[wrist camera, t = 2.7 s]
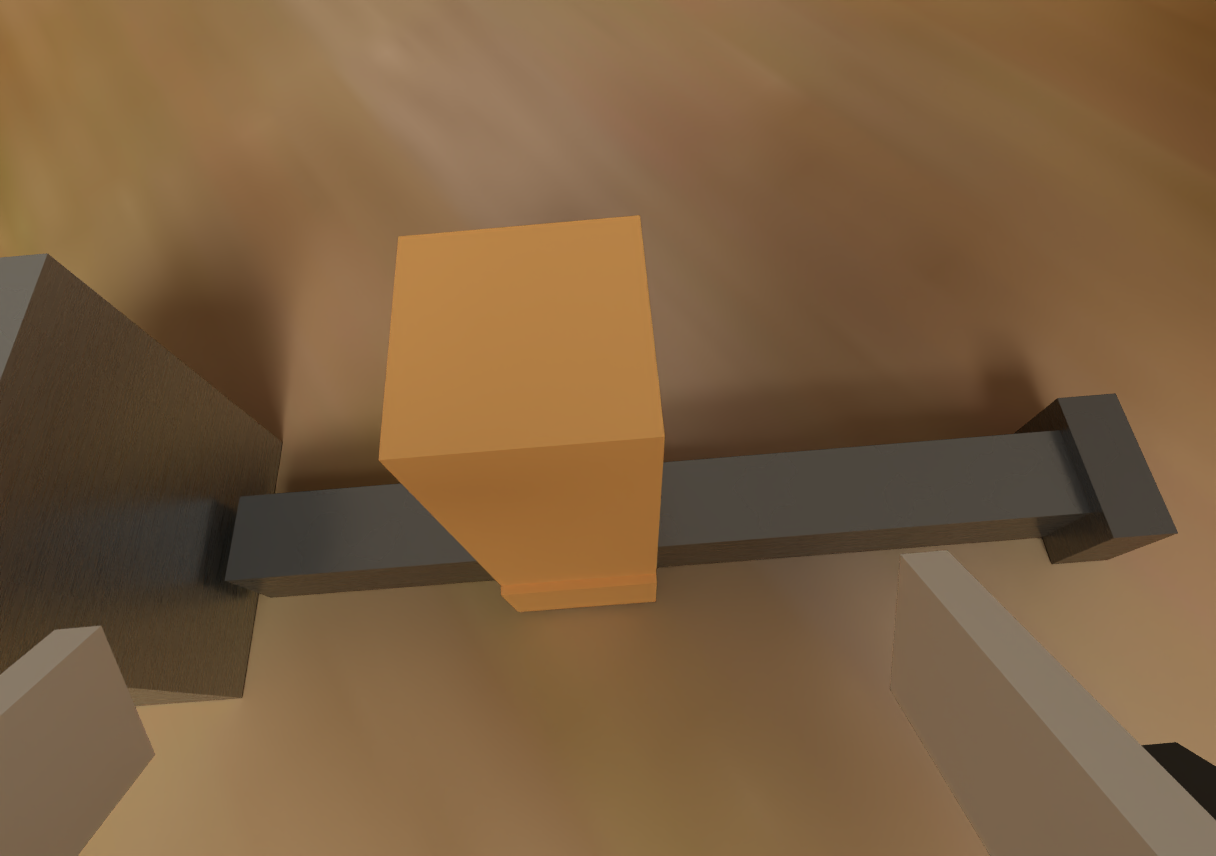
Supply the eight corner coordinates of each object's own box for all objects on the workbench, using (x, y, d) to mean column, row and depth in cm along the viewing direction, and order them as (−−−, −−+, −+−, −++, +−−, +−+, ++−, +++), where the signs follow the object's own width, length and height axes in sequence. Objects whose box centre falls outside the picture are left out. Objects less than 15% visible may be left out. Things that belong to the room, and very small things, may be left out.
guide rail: (1058, 435, 26) (1115, 393, 23) (1107, 559, 24) (1178, 533, 21) (285, 497, 27) (236, 465, 23) (266, 624, 24) (210, 608, 21)
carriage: (641, 458, 26) (638, 203, 14) (655, 601, 24) (666, 452, 11) (517, 469, 26) (399, 225, 14) (518, 611, 24) (376, 476, 11)
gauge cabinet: (283, 433, 28) (51, 241, 17) (241, 697, 23) (-108, 666, 13) (121, 446, 28) (-212, 264, 17) (49, 712, 24) (-461, 693, 13)
